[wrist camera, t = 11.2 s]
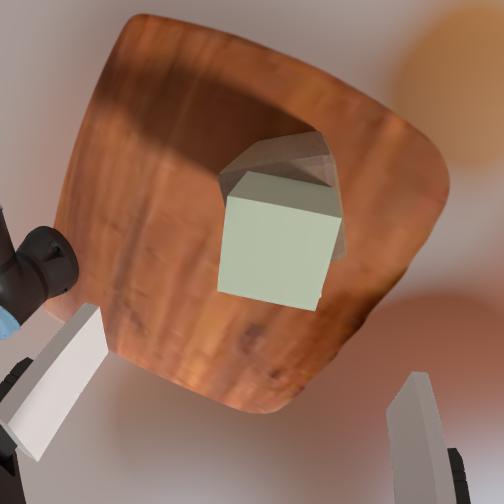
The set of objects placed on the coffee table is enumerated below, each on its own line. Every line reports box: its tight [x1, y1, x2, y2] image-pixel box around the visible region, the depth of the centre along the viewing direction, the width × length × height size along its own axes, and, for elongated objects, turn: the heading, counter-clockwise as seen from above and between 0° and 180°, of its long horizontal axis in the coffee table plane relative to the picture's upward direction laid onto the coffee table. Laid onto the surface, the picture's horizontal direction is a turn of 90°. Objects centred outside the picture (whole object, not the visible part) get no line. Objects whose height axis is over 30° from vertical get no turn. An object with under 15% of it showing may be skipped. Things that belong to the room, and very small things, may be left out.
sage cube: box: [217, 171, 342, 311], centre depth 24 cm, size 7×7×7 cm
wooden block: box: [218, 131, 347, 262], centre depth 36 cm, size 10×10×20 cm
